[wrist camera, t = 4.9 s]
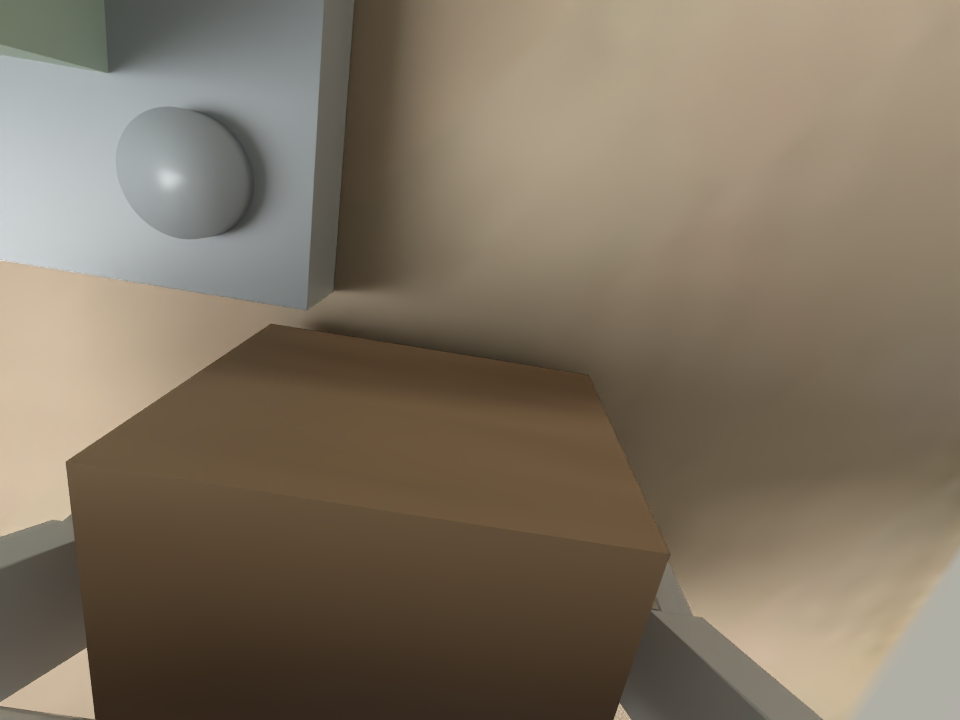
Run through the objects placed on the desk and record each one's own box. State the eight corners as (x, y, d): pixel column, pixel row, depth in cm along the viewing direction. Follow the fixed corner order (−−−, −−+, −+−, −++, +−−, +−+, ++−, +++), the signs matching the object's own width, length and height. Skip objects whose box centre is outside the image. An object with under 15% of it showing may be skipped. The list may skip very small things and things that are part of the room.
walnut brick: (271, 323, 10) (65, 462, 5) (588, 374, 10) (670, 554, 5) (263, 579, 12) (110, 848, 7) (528, 619, 12) (549, 907, 7)
